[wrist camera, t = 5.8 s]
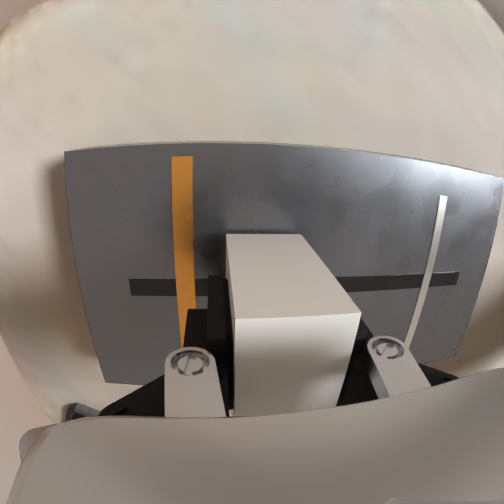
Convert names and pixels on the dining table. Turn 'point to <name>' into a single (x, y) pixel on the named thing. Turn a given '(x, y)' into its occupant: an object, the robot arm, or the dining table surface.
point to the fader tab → (286, 325)
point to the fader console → (272, 222)
